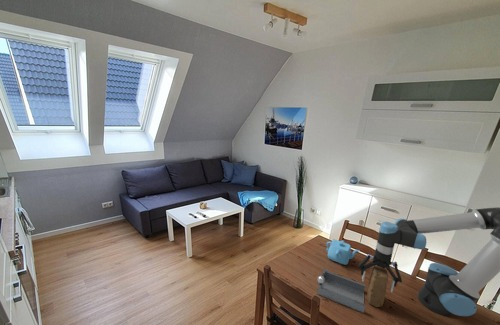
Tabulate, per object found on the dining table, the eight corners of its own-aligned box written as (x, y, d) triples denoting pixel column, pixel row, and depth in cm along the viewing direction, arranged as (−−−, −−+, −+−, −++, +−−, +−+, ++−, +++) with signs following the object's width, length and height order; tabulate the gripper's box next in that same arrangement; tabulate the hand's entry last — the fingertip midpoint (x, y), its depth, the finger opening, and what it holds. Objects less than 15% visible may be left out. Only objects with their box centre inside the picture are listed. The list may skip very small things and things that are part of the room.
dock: (363, 291, 124) (366, 276, 122) (363, 313, 109) (366, 297, 107) (320, 274, 135) (322, 261, 133) (315, 293, 120) (317, 278, 118)
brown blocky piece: (382, 310, 111) (389, 278, 107) (366, 304, 115) (372, 272, 111) (380, 296, 121) (387, 265, 117) (366, 291, 124) (371, 261, 120)
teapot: (332, 267, 143) (335, 249, 141) (322, 252, 159) (324, 236, 157) (357, 267, 145) (360, 249, 142) (345, 252, 161) (348, 236, 158)
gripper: (411, 255, 109) (402, 290, 113) (358, 239, 120) (352, 272, 125) (414, 263, 102) (405, 300, 107) (357, 246, 114) (351, 280, 118)
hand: (376, 285), depth 116 cm, fingers open, 13 cm apart
